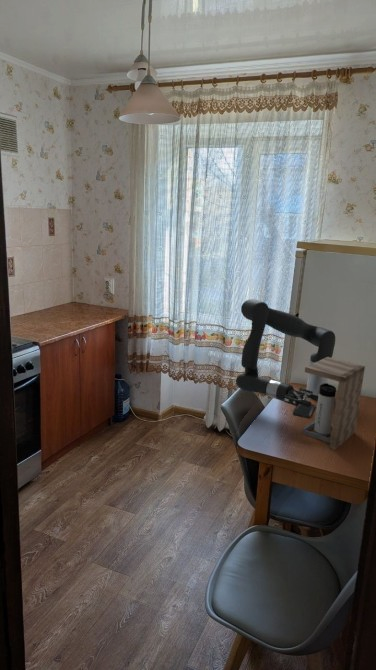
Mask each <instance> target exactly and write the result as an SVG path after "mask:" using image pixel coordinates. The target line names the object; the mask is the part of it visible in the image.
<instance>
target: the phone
mask: <svg viewBox="0 0 376 670" xmlns="http://www.w3.org/2000/svg"><path fill="white" fill-rule="evenodd" d="M315 409H316V404H313V403H311V407H306V406H303V405H298V406H294V410H293V411H292V415H294V416H295V417H296V416H297V417H302V418H306V419H310V418H311V417H312V416H313V413H314V411H315Z"/></svg>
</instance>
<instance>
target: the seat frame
mask: <svg viewBox="0 0 376 670" xmlns="http://www.w3.org/2000/svg"><path fill="white" fill-rule="evenodd" d="M314 426H315V420H313V421H312V422H311V423H308V424H307V425H306V426H304V427H303V428H301V431H300V433H301V434H303V435H307V436H309V437H312V438H313V439H317V440H321V441H323V442H326V443H329V444H330V440H331V436H330V437H328V436H322V435H320V434H317V433H314V431H310V430H311V429H312V428H314ZM332 426H333V425H331V430H330V432H332Z"/></svg>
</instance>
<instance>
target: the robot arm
mask: <svg viewBox="0 0 376 670" xmlns="http://www.w3.org/2000/svg"><path fill="white" fill-rule="evenodd" d="M240 309H241V310H240V311H241V314H242V316H243V317H244V318H246V320H248V321H251V329H250V333H249V335H248V338H247V339H246V341H245V343H244V345H243V349H242V353H241V361H240V364H241V367H243V368H244V373H241V374H238V376H237V377H236V379H235V383H236V386H237V387H238V388H239V389H241V390H242V391H246V392H251V393H258V394H261V395H265V396H268V397H270V398H272V399H274V400H277V401H281V402H284V403H286V404H289V405H292V406H294V407H296V406H298V405H303V406H306V407H311V404H312V401H316V402H318V396H319V390H320V385H322V384H323V383H328V380H329V379H328V378H324V377H320V376H317V375H313V374H310V373H307V383H306V389H304V388H301V387H300V388H299V389H295V388H294V386H293V385H292V384H289V383H286V382H283V381H280V380H274V379H271V378H267V377H259V371H258V361H259V352H260V347H261V342H262V339H263V335H264V332H265V328H266V326H268V327H270V328H272V329H273V330H275V331H277V332H279V333H282V334H284V335H286V336H289V337H294V338H299V339H303V340H305V341H306V342H309V343H310V344H312V345H313V346H315V347H317V348H318V349H317V352H315V353H314V352H313V353H311V354H310V358H309V365H311V364H313V363H315V362H317V361H320V360H322V359H324V358H326V357H330V358H333V354H334V349H335V347H336V346H335V345H336V334H335V332H334V331H332V330H330V329H327V328H324V327H320V326H317V325H313V324H310V323H307V322H306V321H304V320H303V319H302V318H300V317H298V316H296V315H293V314H291V313H288V312H285V311H282V310H277V309H273V308H270V307H269V306H268V304H267V303H266V302H264V301H261V300H258V299H255V298H253V299H252V298H251V299H247V300H245V301H244V302H243V303H242V304H241V307H240ZM310 400H312V401H310Z"/></svg>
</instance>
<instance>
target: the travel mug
mask: <svg viewBox="0 0 376 670" xmlns="http://www.w3.org/2000/svg"><path fill="white" fill-rule="evenodd" d="M336 394H337V388H336V386H334V385H332V384H329V383H328V382H327V383H323V384H322V385H320V390H319V396H318V401H317V403H316V404H317V405H316V411H315V412H316V413H315V419H314V421H315V426H314V427H313V432H314V433H317V434H320V435H322V436H325V437H328V436H331V426H332V424H333V417H334V414H333V413H334V410H335V403H336Z"/></svg>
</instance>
